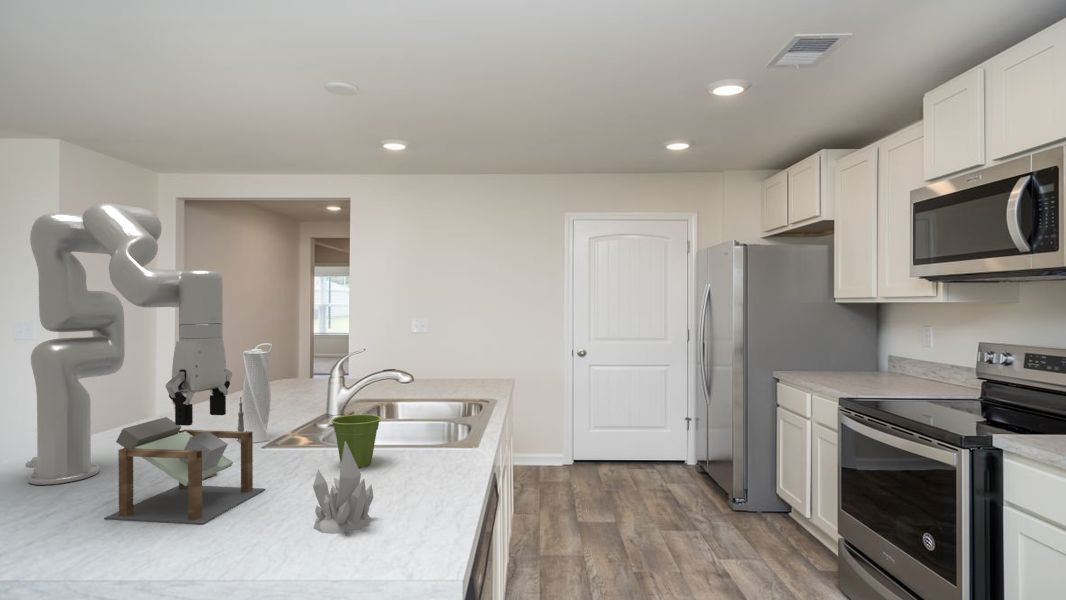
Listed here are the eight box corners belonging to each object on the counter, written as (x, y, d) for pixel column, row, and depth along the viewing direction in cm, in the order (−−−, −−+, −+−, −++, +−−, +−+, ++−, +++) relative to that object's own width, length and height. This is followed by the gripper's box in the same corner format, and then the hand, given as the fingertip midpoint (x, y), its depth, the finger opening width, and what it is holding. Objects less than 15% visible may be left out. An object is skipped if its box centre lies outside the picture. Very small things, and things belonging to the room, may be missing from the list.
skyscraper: (267, 436, 172) (267, 342, 172) (275, 441, 166) (275, 343, 166) (236, 441, 167) (236, 343, 167) (243, 446, 160) (243, 345, 160)
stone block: (179, 459, 113) (190, 437, 113) (197, 452, 118) (208, 431, 117) (199, 472, 112) (210, 450, 112) (217, 465, 117) (228, 444, 117)
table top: (104, 519, 107) (104, 517, 107) (179, 486, 126) (179, 484, 126) (203, 524, 104) (203, 523, 104) (265, 489, 123) (265, 488, 123)
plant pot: (384, 468, 139) (384, 421, 139) (332, 474, 134) (332, 425, 134) (378, 455, 150) (378, 412, 150) (330, 460, 145) (329, 415, 145)
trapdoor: (111, 443, 110) (118, 429, 110) (163, 428, 123) (169, 415, 123) (183, 490, 108) (190, 477, 108) (229, 470, 121) (235, 458, 121)
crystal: (339, 506, 113) (339, 430, 113) (386, 521, 106) (386, 439, 106) (294, 523, 105) (293, 440, 105) (342, 540, 98) (341, 451, 98)
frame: (118, 517, 108) (118, 449, 108) (184, 488, 125) (184, 429, 125) (196, 521, 106) (195, 452, 106) (252, 491, 123) (252, 431, 122)
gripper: (213, 330, 124) (213, 410, 124) (149, 335, 107) (149, 429, 107) (246, 330, 123) (246, 411, 123) (186, 336, 106) (187, 430, 106)
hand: (201, 419), depth 115 cm, fingers open, 9 cm apart
